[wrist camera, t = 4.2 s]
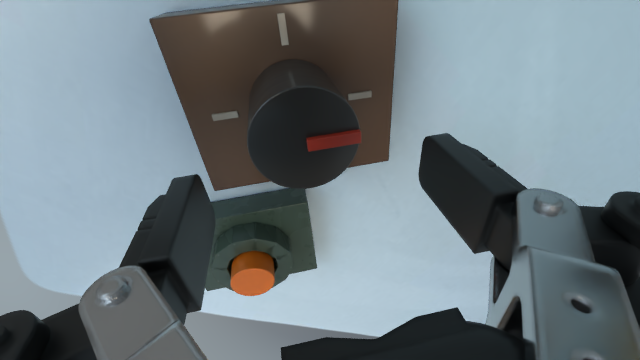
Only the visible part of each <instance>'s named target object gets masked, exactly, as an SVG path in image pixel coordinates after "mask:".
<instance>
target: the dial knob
mask: <svg viewBox="0 0 640 360" xmlns="http://www.w3.org/2000/svg"><path fill="white" fill-rule="evenodd" d="M359 143H361V131H360V127H359V122H358V119H357V116H356V114H355V112H354V110H353V109H352V107H351V106H350V105H349V103H348V102H347V101H346V99H345V98H344V97H343V95H342V94H341V93H340V91H339V90H338V89H337V87H336V86H335V85H334V83H333V82H332V81H331V79H330V78H329V77H328V75H327V74H326V73H325V72H324V71H323V70H322V69H320V68H319V67H318V66H316V65H314V64H312V63H310V62H307V61H303V60H297V59H290V60H283V61H280V62H277V63H275V64H273V65H271V66H269V67H268V68H266V69H265V70H264V71H263V72H262V73H261V74H260V75H259V76H258V78H257V79H256V81H255V82H254V84H253V86H252V89H251V93H250V98H249V113H248V129H247V147H248V152H249V155H250V158H251V160H252V162H253V164H254V165H255V167H256V168H257V169H258V171H259V172H260V173H261V174H262V175H263V176H265V177H266V178H267V179H269V180H270V181H272V182H274V183H276V184H278V185H281V186H284V187H288V188H294V189H307V188H313V187H317V186H320V185H323V184H326V183H328V182H330V181H332V180H333V179H335V178H336V177H338V176H339V175H340V174H341V173H342V172H344V171H345V170H346V168H347V167H348V166H349V165H350V163H351V162H352V160H353V159H354V157H355V155H356V152H357V149H358V146H359Z"/></svg>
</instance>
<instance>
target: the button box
mask: <svg viewBox="0 0 640 360" xmlns="http://www.w3.org/2000/svg"><path fill="white" fill-rule="evenodd" d="M211 205H212V207H213V210H214V213H215V221H216V224H215V231H214V237H213V243H212V249H211V255H210V260H209V266H208V272H207V278H206V284H205V288H206V290H207V291H210V290H215V289H220V288H225V287H226V288H228V289H230V290H232V291H234V290H233V289H232V288H231V285H230V281H231V269H232V262H233V260H234V259H235V258H236V257H237V256H238V255H240V254H241V253H244V252H249V251H260V252H265V253H267V254H269V255H270V256H271V257H272V259H273V261H274V274H275V282H274V285H273V286H272V288H273V287H274V286H276V285H277V284H279V283H281V282H282V281H284V280H285V279H286V278H287V277H288V275H289V274H292V273H297V272H302V271H306V270H311V269H316V268H317V264H316V257H315V250H314V243H313V237H312V230H311V223H310V216H309V209H308V203H307V198H306V194H305V189H294V188H289V189H284V190H278V191H273V192H267V193H262V194H256V195H250V196H245V197H239V198H234V199H228V200H222V201H217V202H211Z"/></svg>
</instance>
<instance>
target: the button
mask: <svg viewBox="0 0 640 360" xmlns="http://www.w3.org/2000/svg"><path fill="white" fill-rule="evenodd" d="M274 282H275V274H274V261H273V259H272V257H271V256H270V255H269V254H267V253H265V252H260V251H249V252H244V253H241V254H240V255H238V256H237V257H236V258H235V259H234V260H233V262H232V269H231V281H230V285H231V288H232V289H233V290H234V291H235V292H236V293H238V294H241V295H245V296H255V295H260V294H263V293H265V292H267V291H268V290H270V289H271V288H272V286H273V285H274Z"/></svg>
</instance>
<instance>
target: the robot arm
mask: <svg viewBox="0 0 640 360" xmlns="http://www.w3.org/2000/svg"><path fill="white" fill-rule="evenodd" d="M419 181H420V184H421V186H422V188H423V190H424V191H425V192H426V193H427V195H428V196H429V197H430V198H431V200H432V201H433V202H434V203H435V205H436V206H437V207H438V209H439V210H440V211H441V212H442V214H443V215H444V216H445V217H446V219H447V220H448V221H449V222H450V224H451V225H452V226H453V228H454V229H455V230H456V231H457V233H458V234H459V235H460V236H461V238H462V239H463V240H464V241H465V243H466V244H467V245H468V246H469V248H470V249H471V250H472V252H473V253H474V254H476V253H481V252H485V251H490V252H491V253H492V254H493V257H492V259H491V264H490V283H489V303H488V315H487V320H486V323H485V324H482V323H476V322H470V321H465V319H464V318H463V316H462V314H461V313H460V311H459V309H458V308H453V309H448V310H444V311H440V312H435V313H431V314H427V315H422V316H418V317H415V318H413V319H411V320H410V321H408V322H406V323H404V324H403V325H401V326H399V327H397V328H395V329H394V330H392V331H390V332H388V333H387V334H385V335H383V336H381V337H379V338H377V339H351V338H328V337H326V338H321V339H317V340H313V341H308V342H304V343H300V344H295V345H291V346H287V347H282V348H281V358H282V360H640V193H638V192H618V193H615V194H613V195H612V196H611V198H610V199H609V201H608V202H607V204H606V205H605V207H589V206H578V205H577V204H576V203H575V202H573V201H572V200H571V199H569V198H567V197H566V196H564V195H562V194H559V193H557V192H553V191H550V190H545V189H536V188H535V189H527V188H526V187H525V186H523V185H522V184H521V183H519V182H518V181H517V180H516V179H514V178H513V177H512V176H510V175H509V174H508V173H507V172H505V171H504V170H503V169H501V168H500V167H499V166H498V167H497V166H496V164H495V163H494V162H492V161H491V160H488V158H487V157H486V156H485V155H483V154H482V153H481V152H479V151H478V150H476V149H474V148H471V147H469V146H467V145H464V144H461V143H460V142H459V141H457V140H456V139H455V138H454V137H452V136H451V135H450V134H448V133H445V134H439V135H433V136H427V137H425V139H424V141H423V145H422V152H421V159H420V167H419ZM215 224H216V221H215V213H214V210H213V207H212V205H211V202H210V200H209V197H208V195H207V192H206V190H205V187H204V185H203V182H202V180H201V178H200V176H199V175H197V174H196V175H190V176H184V177H178V178H174V179H173V180H172V182H171V184H170V186H169V189H168V191H167V193H166V195H160V196H159V197H158V198H157V199H156V200H155V201H154V202H153V203H152V204H151V205H150V206H149V207H148V208H147V210H146V212H145V215H144V217H143V221H141V223H140V225H139V227H138V231H136V233H135V235H134V237H133V239H132V241H131V244H130V246H129V248H128V250H127V252H126V254H125V256H124V258H123V260H122V262H121V264H120V266H119V268H117V269H115V270H113V271H110V272H109V273H107V274H105V275H103V276H102V277H100V278H99V279H98V280H97V281H95V282H94V283H93V284H92V285H91V286H90V287H89V288H88V289H87V290H86V292H85V293H84V295H83V296H82V298H81V300H80V303H79V304H77V305H75V306H72V307H70V308H68V309H65V310H63V311H61V312H59V313H57V314H54V315H52V316H50V317H47V318H45V319H43V320H40V319H39V318H38V317H36V316H35V315H34V314H33V313H31V312H29V311H25V310H19V311H14V312H10V313H7V314H5V315H2V316H0V360H208V359H207V358H206V356H205V355H204V353H203V352H202V351H201V349H200V348H199V346H198V345H197V343H196V342H195V341H194V339H193V338H192V336H191V335H190V334H189V332H188V331H187V329H186V328H185V326H184V323H185V319H186V314H187V313H190V312H195V311H199V310H201V307H202V301H203V295H204V289H205V284H206V278H207V272H208V266H209V260H210V255H211V249H212V243H213V237H214V231H215Z"/></svg>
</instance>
